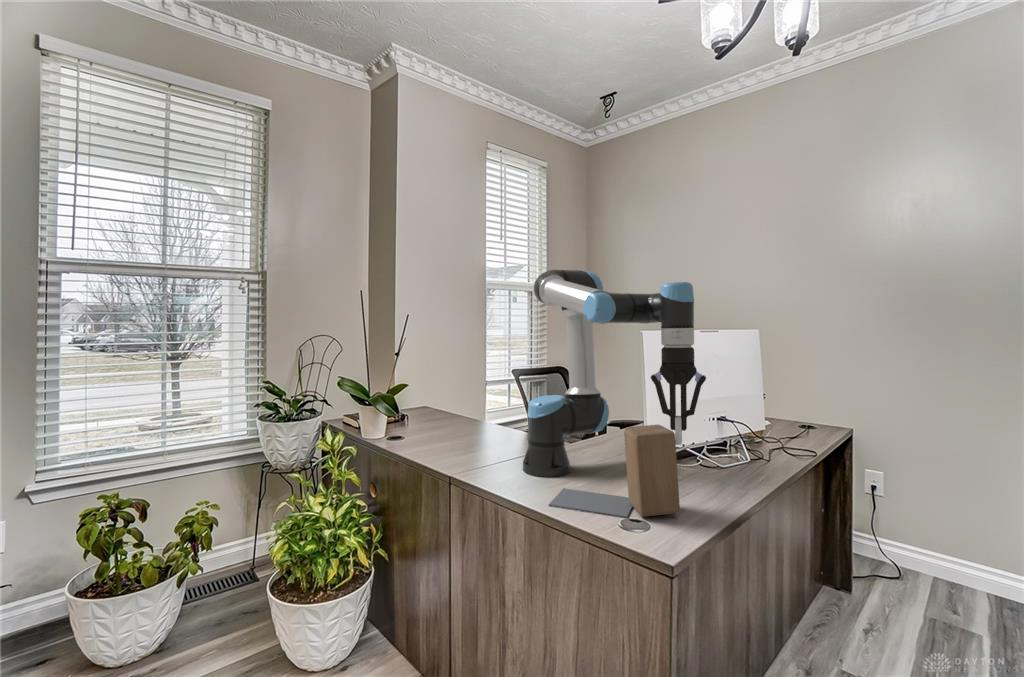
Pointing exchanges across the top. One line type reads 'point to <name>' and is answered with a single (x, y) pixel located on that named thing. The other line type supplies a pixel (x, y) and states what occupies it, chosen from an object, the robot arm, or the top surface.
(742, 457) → the top surface
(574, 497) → the mat
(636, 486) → the block
